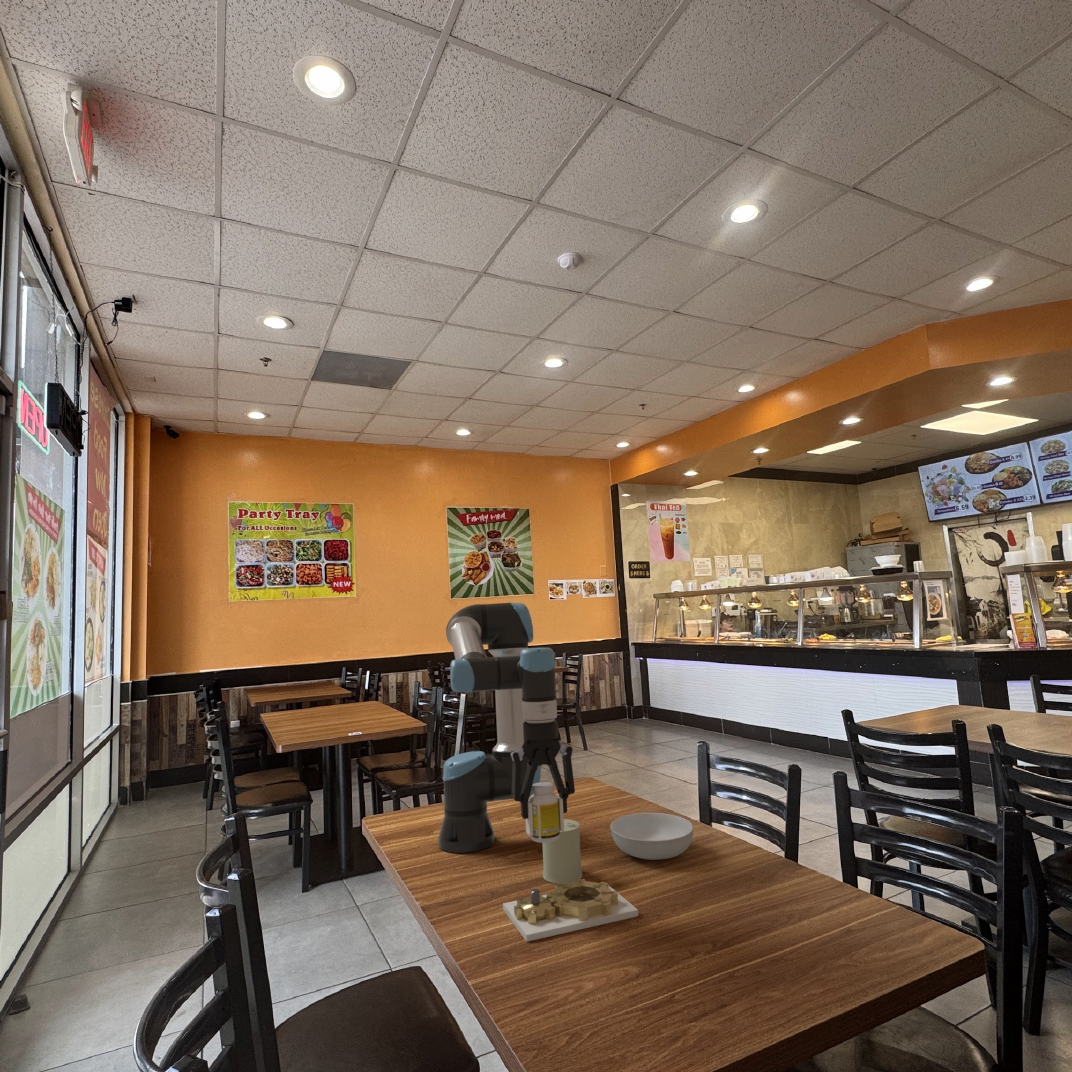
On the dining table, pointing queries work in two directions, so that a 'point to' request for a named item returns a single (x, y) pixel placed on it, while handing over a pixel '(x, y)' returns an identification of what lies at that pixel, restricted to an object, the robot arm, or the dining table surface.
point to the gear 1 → (535, 908)
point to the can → (563, 855)
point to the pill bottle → (544, 813)
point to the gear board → (568, 920)
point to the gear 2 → (583, 899)
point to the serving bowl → (652, 835)
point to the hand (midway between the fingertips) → (545, 831)
